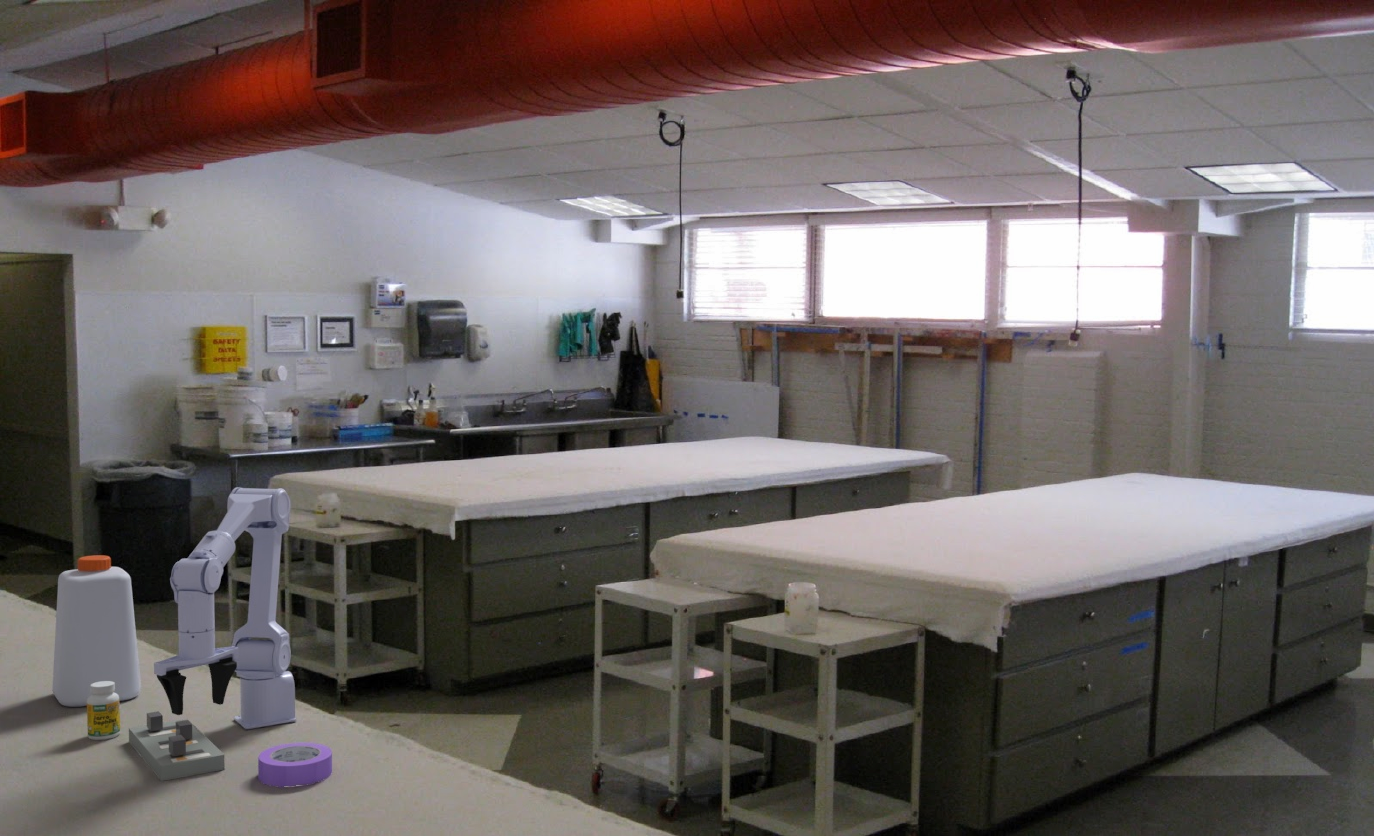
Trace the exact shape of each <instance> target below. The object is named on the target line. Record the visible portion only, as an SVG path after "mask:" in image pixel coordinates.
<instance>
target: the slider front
mask: <svg viewBox="0 0 1374 836" xmlns="http://www.w3.org/2000/svg"><path fill="white" fill-rule="evenodd" d="M169 752H170V753H171V755H172V756H179V755H185V754H186V739H185V738H184V737H183V736H182V735H177V736H171V737H169Z"/></svg>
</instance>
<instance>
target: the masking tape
mask: <svg viewBox="0 0 1374 836" xmlns="http://www.w3.org/2000/svg"><path fill="white" fill-rule="evenodd" d="M257 759H258V765H257V767H258V769H257V770H258V774H257V775H258V776H257V777H258V778H257V779H258V781H259V782H260V783H261V782H262V783H261V784H263V783H264V784H263V785H265V784H266V786H268V785H271V786H270V787H273V786H278V787H277V788H285V787H284V786H296V785H305V786H309V784H310V785H314V784H316V783H315V782H317V783H319V782H318V781H320V782H322V781H324V780H323V779H325V780H327V779H328V778H329V777H330V776H332V774H331V773H333V750H332V749H331V748H330V747H329V746H327V745H324V744H323V743H322V744H321V743H315V742H291V743H283V744H277V745H275V746H272V747H269V748H267V749H264V750H263V751H261V752H260V753H259V754H258V757H257ZM321 780H322V781H321ZM313 783H314V784H313ZM307 784H308V785H307Z"/></svg>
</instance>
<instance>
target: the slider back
mask: <svg viewBox="0 0 1374 836" xmlns="http://www.w3.org/2000/svg"><path fill="white" fill-rule="evenodd" d="M163 717H164V716H163V714H162V713H161V711H159V710H158V711H151V712H146V725H147V728H148V729H149V730H150V731H156V730H162V729H163V722H164V721H163V720H164V719H163Z"/></svg>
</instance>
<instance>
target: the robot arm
mask: <svg viewBox="0 0 1374 836" xmlns="http://www.w3.org/2000/svg"><path fill="white" fill-rule="evenodd" d="M291 504H292V503H291V498H290V496H289V494H288V493H287V491H286V490H285V489H284V488H280V487H279V488H254V487H253V488H252V487H251V488H249V487H241V486H239V487H238V486H236V487H234V488H233V489H232V490H231V492H230V493H229V495H228V498H227V506H226V508H227V509H226V510H227V512H226V514H225V516H224V517H223V518H222V521H221V522H220V524H219V525H218V526H217V529H215V530H210V531H207V533H205V535H204V536H202V539H201V540H200V541H199V543H198V544H197V545H196V547H195V548H194V549H193V551H192V552H191V553H190V554H189V556H188V557H187V558H185V557H184V558H181V559H180V560H179V561H178V560H177V562H175V564H174V565H173V567H172V569H171V575H170V578H169V581H170V586H171V589H172V591H173V595H174V599H173V600H174V601H175V604H177V619H178V623H177V624H178V625H177V626H178V629H177V630H178V654H177V655H173V656H171V657H168V658H166V659H165V658H164V659H163V660H160V661H155V662H154V663H153V673H154V675H156V678H157V680H158V682H159V683H160V684H161V687H162V688H163V689H164V690H163V691H164V692H165V694H166V696H167V697H166V698H167V699H168V703H169V705H170V706H169V707H170V709H171V714H173V715H177V716H180V715H183V713H184V712H183V711H184V690H185V684H186V680H187V676H186V675H183V674H182V673H181V672H180V671H185V670H187V669H193V668H196V667H197V668H198V667H201V666H205V665H208V668H209V673H210V678H211V679H210V680H211V692H212V693H211V698H212V702H213V704H216V705H219V706H221V705H224V703H225V699H226V698H225V697H226V693H227V689H228V686H229V684H230V681H231V678H232V676H233V675H234V673H236V677H239V679H240V680H239V681H240V683H239V685H240V687H239V688H240V689H239V690H240V715H235V716H234V717H233V720H235V722H237V724H239V725H240V726H241V727H243V728H244V729H245V730H250V729H257V728H263V727H268V726H274V725H280V724H287V723H292V722H293V723H294V722H296V721H297V718H296V687H295V680H294V679H295V678H294V676H293V673H292V672H291V671H289V670H287V669H288V668H289V666H290V663H291V658H292V657H291V655H292V653H291V646H290V633H289V632H288V631H287V630H286V629H284V628H283V627H282V626H281V625H280V624H278V622H276V621H277V620H276V618H277V603H278V591H279V589H278V588H279V576H280V565H281V551H282V550H281V549H282V536H283V534H286V533H287V532H288V531H289V526H290V522H291V521H290V520H291V519H290V517H291V507H292V506H291ZM244 531H245V532H247V533H249V534H250V536H251V537H252V539H253V542H252V543H253V545H252V558H251V559H252V560H251V572H250V585H249V595H248V597H249V599H248V613H247V622H246V623H245V624H244V625H242V626H241V627H239V628H238V629H237V630H236V631H235V632H234V634H233V640H232V643H231V646H224V647H217V648H216V642H215V641H216V627H215V624H216V623H215V619H216V618H215V592H216V591H217V590H218V589H219V587H220V584H221V579H222V576H223V575H224V567H225V566H226V564H227V563H228V562H229V560H230V559H231V558H232V556H233V554H235V552H236V543H235V541H236V540H237V539H238V538H239V537H240V536H241V534H242V533H244ZM242 535H243V534H242ZM251 638H260V639H251ZM261 638H263V639H261ZM264 638H265V639H264ZM266 638H267V639H266Z"/></svg>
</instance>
